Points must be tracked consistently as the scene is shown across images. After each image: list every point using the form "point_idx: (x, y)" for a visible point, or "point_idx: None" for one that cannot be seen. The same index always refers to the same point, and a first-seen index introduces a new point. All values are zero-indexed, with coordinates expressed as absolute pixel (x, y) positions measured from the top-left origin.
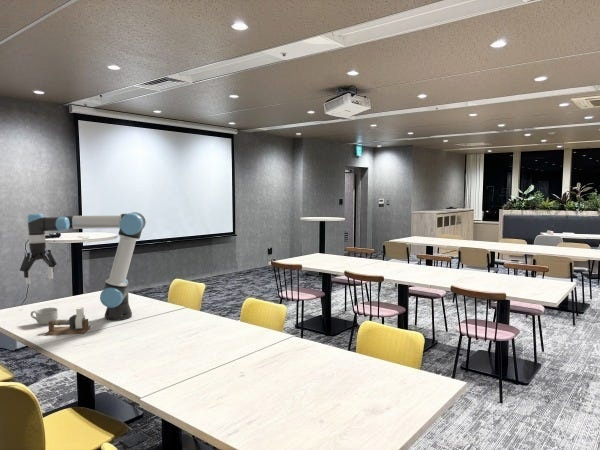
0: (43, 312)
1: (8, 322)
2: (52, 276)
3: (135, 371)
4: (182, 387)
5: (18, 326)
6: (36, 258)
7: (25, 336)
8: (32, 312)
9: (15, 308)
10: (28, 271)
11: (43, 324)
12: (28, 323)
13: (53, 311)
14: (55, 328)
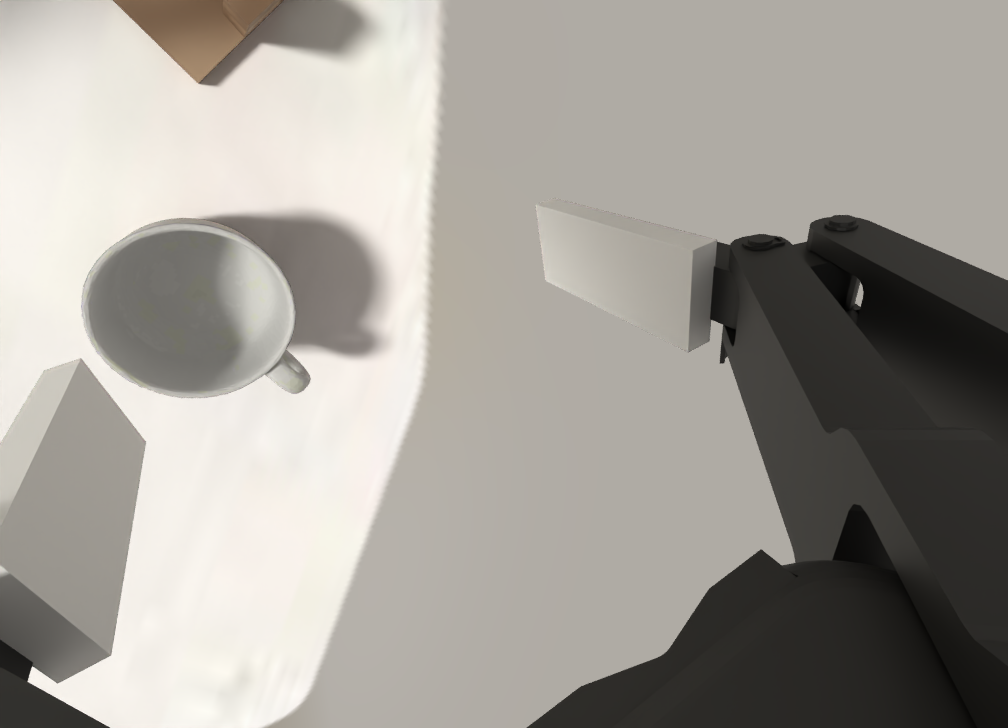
0: (207, 377)
1: (377, 470)
2: (50, 388)
3: None
4: None
5: (369, 355)
6: (940, 512)
7: (423, 89)
8: (301, 374)
9: (254, 719)
10: (698, 279)
11: (243, 252)
12: None
13: (118, 345)
14: (205, 21)
